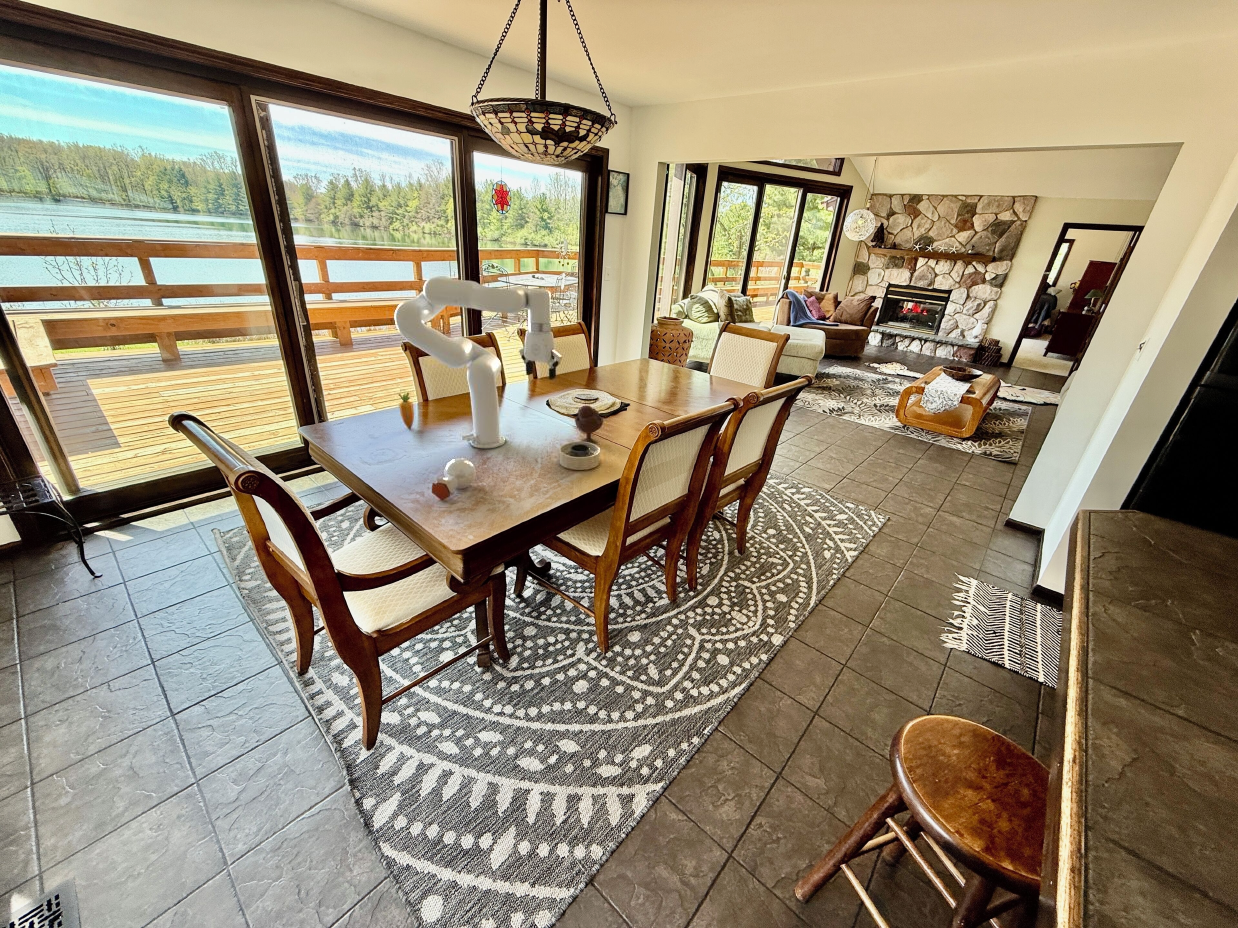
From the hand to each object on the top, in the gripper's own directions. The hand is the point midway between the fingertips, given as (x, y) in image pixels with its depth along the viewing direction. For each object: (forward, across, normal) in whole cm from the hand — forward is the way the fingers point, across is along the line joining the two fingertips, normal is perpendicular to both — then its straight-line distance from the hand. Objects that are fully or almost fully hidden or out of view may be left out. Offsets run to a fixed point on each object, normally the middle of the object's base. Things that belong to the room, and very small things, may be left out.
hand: (540, 376), depth 171 cm
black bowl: (+26, +20, -6) cm, 33 cm away
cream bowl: (+26, +20, -6) cm, 34 cm away
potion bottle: (+26, -2, -44) cm, 51 cm away
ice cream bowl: (+26, +14, +11) cm, 32 cm away
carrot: (+26, -52, -15) cm, 61 cm away
